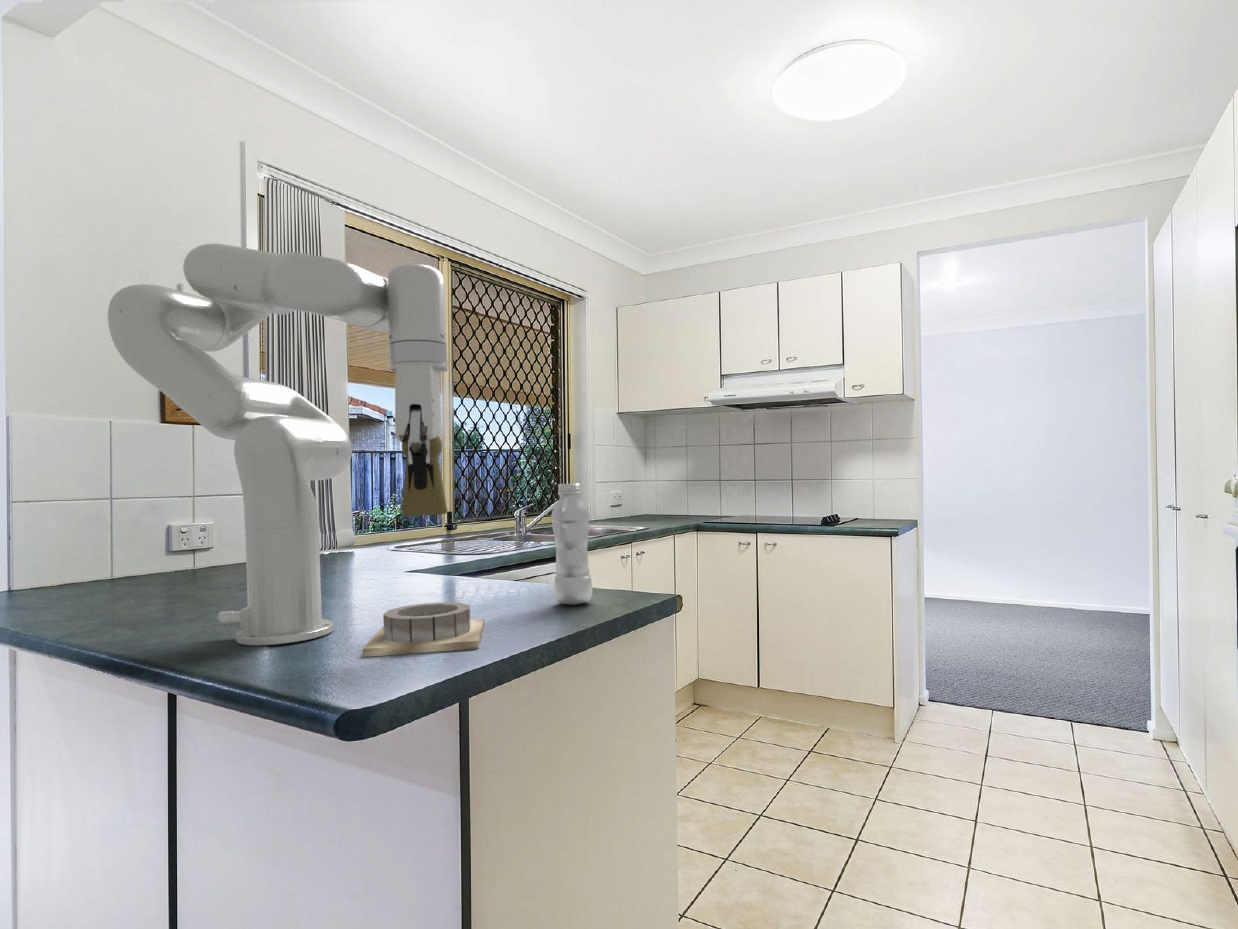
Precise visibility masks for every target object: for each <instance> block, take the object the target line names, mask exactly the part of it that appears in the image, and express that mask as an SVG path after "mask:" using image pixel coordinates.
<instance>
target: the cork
mask: <svg viewBox="0 0 1238 929" xmlns="http://www.w3.org/2000/svg"><path fill="white" fill-rule="evenodd" d="M421 440H427V435H426V436H421ZM403 441H404V442H403V443H402V442H401V449H402V453H403V455H404V456H405V458H406V464H405V472H404V483H403V484H404V485H403V491H402V492H403V493H402V494H403V495H402V504H401V512H400V513H401V514H400V516H401V517H421V516H435V515H437V516H438V515H446V514H449V512H448V506H447V500H446V495H445V490H444V483H443V477H442V471H441V466H440V459H439V457H440V455H441V453H442V450H443V442H442V439H441V438H440V437H439V436H438V435H437V436H436V439H434V440H432V441H430V452H431V465H433V469H434V489H433V485H432V482H431V478H430V474H429V471H428V469H427V487H426V488H425V489H422V490H418V489H416V488H415V487H414V472H413V475H412V480H411V486H410V491H409V481H408V466H412V465H409V461H408V437H404V439H403ZM425 446H426V445H425ZM425 452H426V451H425Z"/></svg>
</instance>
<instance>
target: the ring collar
mask: <svg viewBox="0 0 1238 929" xmlns="http://www.w3.org/2000/svg"><path fill="white" fill-rule="evenodd" d="M382 617H383V626H382V627H381V629H379V631H378V632H377V633H376V634H375V635H374V636H373V637H372V638H371V639H370V640H369V641H368V642H367V644H365V645H364V646H363V648H362V658H366V657H367V658H369V657H380V656H395V655H410V654H422V653H423V654H424V653H436V652H449V651H462V650H463V651H464V650H475V649H476V650H478V649H480V643H481V640H482V635H483V632H484V627H485V618H471V606H470V604H467V603H466V604H465V603H462V602H449V601H446V602H445V601H444V602H442V601H440V602H426V603H424V602H423V603H417V604H411V605H404V606H399V607H396V608H393V609H392V608H391V609H389V610H388V609H387V610H386V612H384V613H383V616H382Z"/></svg>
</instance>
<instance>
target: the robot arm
mask: <svg viewBox="0 0 1238 929" xmlns="http://www.w3.org/2000/svg"><path fill="white" fill-rule="evenodd" d="M182 266H183V274H184V278H185V280H186V281H187V284H189V286H190V287H191V289H193V290H194V291H195V292H196V293H197V294H198V295H196V294H192V293H188V292H185V291H182V290H177V289H174V288H171V287H167V286H163V285H156V284H145V283H141V284H140V283H139V284H132V285H128V286H125V287H122V288H121V289H119V290H118V291H116V292H115V293H114V294H113V296H112V298H110V301H109V304H108V309H107V322H108V329H109V334H110V337H111V340H112V342H113V345H114V346H115V348H116V350H117V352H118V353H119V355H120V357H121V358H122V359H123V360H124V362H125V363H126V364H127V365H128V366H129V367H130V368H131V369H132V371H134V372H136V374H138V375H139V376H140V377H141V378H143V379H144V380H145V381H146V382H148V383H149V384H151V385H152V386H153V387H154V388H156V389H157V390H159V391H160V392H161V393H162V394H163V395H165V396H166V397H167V398H168V399H170V400H171V401H172V402H173V403H174V404H175V405H176V406H178V407H179V408H180V409H181V410H183V411H184V412H185V413H186V414H187V415H188V416H190V417H191V418H193V419H194V420H195V421H196V422H197V423H198V424H200V425H201V426H202V427H203V428H204V429H205V430H207V431H208V432H210V433H211V434H212V435H214V436H215V437H218V438H222V439H225V440H228V441H229V440H230V441H231V440H232V441H234V445H233V453H234V460H235V464H236V465H235V466H236V469H237V472H238V477H239V480H240V485H241V492H242V499H243V500H242V502H243V512H244V531H245V533H244V534H245V561H246V563H245V564H246V594H247V606H245V607H243V608H241V609H239V610H238V611H237V610H236V611H235V610H229V611H225V610H223V611H219V612H218V614H217V618H216V619H217V624H218V625H219V626H220V627H230V626H231V627H232V626H238V627H239V628H240V629H239V630H238V631H237V632H236V634H235V641H236V643H238V644H239V645H245V646H273V645H274V646H275V645H284V644H291V643H298V642H302V641H308V640H313V639H317V638H320V637H324V636H326V635H328V634H331V633H332V632H333V631H334V622H333V621H332V620H330V619H326V618H323V617H322V616H323V615H322V613H323V612H322V594H321V593H322V590H321V585H322V584H321V583H322V582H321V563H320V562H321V558H320V555H321V554H320V553H321V552H320V529H319V526H320V525H319V512H318V511H319V510H318V505H317V501H316V498H315V495H314V492H313V490H312V488H311V485H310V483H309V482H310V481H325V480H329V479H333V478H335V477H338V476H339V475H340V474H342V473H343V472H344V471H346V469H347V468H348V466H349V465H350V463H351V459H352V453H353V452H352V451H353V450H352V449H353V448H352V444H351V440H350V438H349V436H348V434H347V432H346V431H345V430H344V428H343V427H342V426H341V425H340V424H339V423H338V422H337V421H335V420H334V419H333V418H331V416H329V415H328V414H326V413H325V412H324V411H323V410H321V409H320V408H318V407H317V406H316V405H314V403H312V402H310V400H308V399H307V398H305V397H304V396H302V394H300V393H299V392H297V391H296V390H294V389H292V388H290V387H288V386H286V385H283V384H281V383H279V382H278V383H277V382H275V381H269V380H268V381H267V380H261V379H255V378H250V377H245V376H241V375H239V374H236V373H235V372H233V371H231V370H230V369H228V368H227V367H225V366H224V365H222V364H221V363H220V362H219V361H218V360H217V359H215V358H214V357H213V356H211V355H210V354H209V353H210V352H218V351H222V350H224V349H227V348H228V347H230V346H231V345H233V344H235V342H237V341H238V340H240V339H241V338H242V337H243V336H244V335H246V334H247V333H249V332H250V331H251V330H252V329H254V328H255V327H257V326H258V325H259V324H260V323H262V322H263V321H264V320H266V319H267V318H268V317H270V315H272V314H275V315H282V316H283V315H289V314H291V313H293V312H294V311H299V312H304V313H309V314H314V315H317V316H321V317H322V316H323V317H326V318H330V319H332V320H338V321H340V322H344V323H347V324H351V325H353V326H357V327H359V328H363V329H366V330H369V331H372V332H380V333H381V332H388V345H389V346H388V347H389V351H388V352H389V370H390V371H391V372H393V373H395V385H394V386H395V387H394V388H395V389H394V390H395V391H394V392H395V395H394V399H395V400H394V407H395V408H394V410H395V411H394V412H395V413H394V417H395V418H394V421H395V422H394V436H395V439H396V440H397V441H398V442H400V443H401V444H402V443H403V442H404V441H403V439H404V437H408V461H409V465H412V466H408V481H409V491H410V486H411V480H412V475H413V472H414V487H415V488H416V489H418V490H422V489H425V488H426V487H427V469H428V471H429V474H430V478H431V482H432V485H433V489H434V469H433V465H431V452H430V441H432V440H434V439H436V436H437V435H438V436H439V437H440V439H441V436H442V431H441V430H442V427H441V426H442V421H441V420H442V414H441V413H442V411H441V410H442V408H441V407H442V406H441V386H440V381H441V380H440V373H445V372H448V370H449V368H448V367H449V366H448V345H447V342H448V341H447V322H446V320H447V319H446V318H447V315H446V294H445V293H446V292H445V280H444V276H443V274H442V272H441V271H440V270H438V269H437V268H435V267H432V266H430V265H425V264H419V263H408V264H407V263H406V264H400V265H396V266H394V267H393V268H391V269H390V270H389V271H388V273H387V276H381V275H379V274H376V273H373V272H371V271H369V270H367V269H364V268H362V267H360V266H358V265H355V264H352V263H350V262H347V261H345V260H340V259H337V258H336V259H335V258H331V257H326V256H320V255H315V254H310V253H302V252H294V251H290V252H289V251H287V252H285V253H278V252H270V251H264V250H257V249H253V248H248V247H241V246H236V245H230V244H224V243H205V244H201V245H198V246H196V247H195V248H192V249H191V250H190V251H189V252H188V253H187V255H186V256H185V258H184V260H183V265H182ZM206 352H209V353H206ZM426 435H427V440H421V436H426ZM425 445H426V446H425ZM425 451H426V452H425Z"/></svg>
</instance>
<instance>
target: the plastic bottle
mask: <svg viewBox="0 0 1238 929" xmlns="http://www.w3.org/2000/svg"><path fill="white" fill-rule="evenodd" d="M557 490H558V492H557V495H558V496H559V499H558V500H557V502H556V504H555V505H554V507H553V509H552V511H551V516H550V520H551V527H552V531H553V537H554V547H555V576H554V582H553V594H554V597H555V598H554V599H556V601H557V603H559V604H563V605H567V606H577V605H581V604H584V603H588V602H589V601H590V600H591V598H592V596H593V589H594V588H593V581H592V580H593V579H592V577H591V573H590V572H591V571H590V566H589V565H590V564H589V557H588V538H589V537H588V536H589V535H588V534H589V526H590V513H589V510H588V508H587V507H586V505H585V503H584V502H583V501H582V500H581V498H580V495H582V493H581V492H582V491H581V484H580V483H559V484H558V486H557Z"/></svg>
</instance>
